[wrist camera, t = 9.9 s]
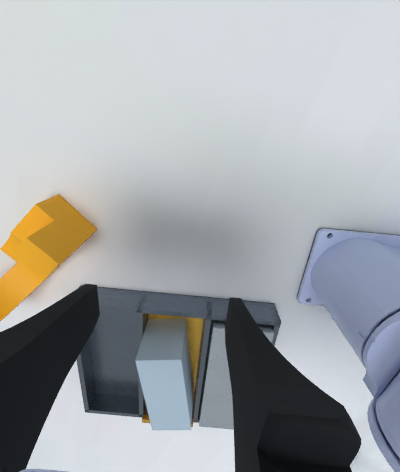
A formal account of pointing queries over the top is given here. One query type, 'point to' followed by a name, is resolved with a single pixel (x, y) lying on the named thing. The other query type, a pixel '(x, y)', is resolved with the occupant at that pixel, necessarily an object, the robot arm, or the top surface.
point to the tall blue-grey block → (166, 374)
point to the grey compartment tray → (129, 339)
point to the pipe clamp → (40, 248)
